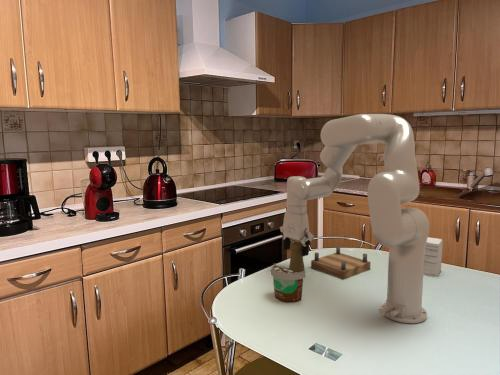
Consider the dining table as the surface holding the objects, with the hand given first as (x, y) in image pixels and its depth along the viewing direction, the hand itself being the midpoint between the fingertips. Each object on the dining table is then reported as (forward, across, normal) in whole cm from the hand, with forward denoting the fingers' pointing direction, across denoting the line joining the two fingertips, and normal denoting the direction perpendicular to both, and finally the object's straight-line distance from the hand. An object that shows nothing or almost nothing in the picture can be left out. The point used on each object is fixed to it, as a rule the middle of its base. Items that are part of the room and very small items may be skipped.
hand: (295, 252), depth 152 cm
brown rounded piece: (+7, +1, 0) cm, 7 cm away
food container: (+7, +17, -22) cm, 28 cm away
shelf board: (+7, +11, +14) cm, 19 cm away
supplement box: (+7, +35, +36) cm, 50 cm away
